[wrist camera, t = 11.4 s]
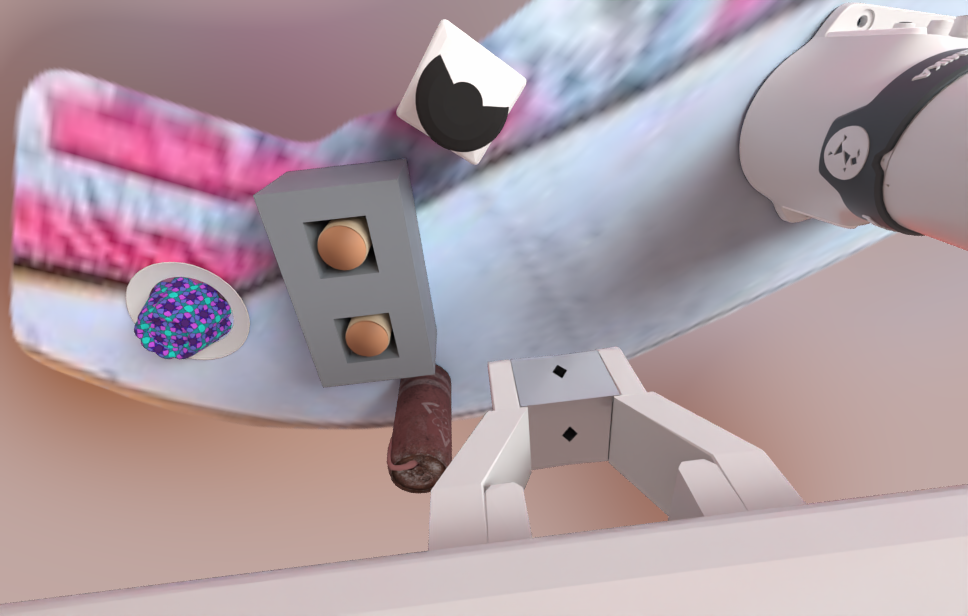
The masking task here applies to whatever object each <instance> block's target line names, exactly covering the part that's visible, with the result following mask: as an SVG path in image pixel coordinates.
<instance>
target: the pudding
mask: <svg viewBox="0 0 968 616" xmlns="http://www.w3.org/2000/svg"><path fill="white" fill-rule="evenodd" d="M171 277H178V278H174V279H173V280H172V282H171V283H167V282H161V283H159V282H160V281H162V280H164V279H167V278H171ZM184 277H189V278H193V279H197V280H200V281H202V282H205V283H206V284H204V283H200V284H195V283H194V282H193V281H191V280H190V279H189V278H184ZM157 283H159V284H157ZM156 284H157V285H156ZM207 284H208V285H207ZM155 285H156V286H155ZM209 285H210V286H209ZM154 286H155V288H154V289H153V291H152V293H151V294H150V292H151V290H152V288H153V287H154ZM211 286H212V287H213V288H215V289H216V290H217V291H219V292H220V293H221V294H222V295H223V296H224V298H225V299H226V300H227V301H228V303H229V305H230V306H231V308H230V306H229V305H228V303H227V302H226V301H224V300H222V299H220V298H219V297H218V294H217V291H216V290H215V289H213V288H212V287H211ZM149 294H150V296H149ZM126 305H127V309H128V312H129V314H130V316H131V318H132V320H133V322H134V323H135V328H134V332H135V334H136V336H137V337H138V338H139V339H141V344H142V346H143V347H144V348H145V349H147V350H148V351H151V352H155V353H156V354H157V355H158V356H160V357H162V358H165V359H172V358H177V359H186V358H191V359H199V360H210V359H217V358H222V357H225V356H227V355H230V354H232V353H233V352H235V351H237V350H238V349H239V348H240V347H241V346H242V345H243V343H244V342H245V340H246V339H247V336H248V333H249V328H250V321H249V314H248V311H247V308H246V306H245V304H244V302H243V301H242V299H241V297H240V296H239V295H238V294H237V292H236V291H235V290H234V289H233V288H232V287H231V286H230V285H229V284H228V283H227V282H225V281H224V280H222V279H221V278H220V277H218V276H217V275H215V274H213V273H211V272H209V271H208V270H205V269H203V268H200V267H197V266H194V265H190V264H186V263H178V262H162V263H157V264H153V265H150V266H148V267H145V268H143V269H142V270H140V271H139V272H138V273H136V274H135V276H134V277H133V278H132V279H131V280H130V283H129V285H128V287H127V291H126ZM231 309H232V312H233V317H234V323H233V327H232V330H231V326H232V323H231V322H230V320H229V319H228V317H229V316H230V314H231ZM230 330H231V331H230ZM229 331H230V333H229V334H228V335H227V336H226V337H225V338H224V339H222V340H220V341H218V342H216V341H217V340H219V338H220V337H222V336H223V335H225V334H227V333H228V332H229ZM214 342H215V343H214Z"/></svg>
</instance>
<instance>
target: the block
mask: <svg viewBox="0 0 968 616" xmlns="http://www.w3.org/2000/svg"><path fill="white" fill-rule="evenodd" d="M253 197H254V199H255V202H256V205H257V208H258V210H259V213H260V216H261V219H262V221H263V224H264V227H265V230H266V232H267V235H268V238H269V241H270V243H271V246H272V249H273V252H274V254H275V257H276V260H277V263H278V265H279V268H280V271H281V274H282V276H283V279H284V282H285V284H286V287H287V290H288V293H289V295H290V298H291V301H292V304H293V306H294V309H295V312H296V315H297V317H298V320H299V323H300V326H301V328H302V331H303V334H304V337H305V339H306V342H307V345H308V348H309V350H310V353H311V356H312V359H313V361H314V364H315V367H316V370H317V372H318V375H319V378H320V380H321V383H322V386H323V388H324V387H332V386H341V385H349V384H358V383H366V382H375V381H383V380H391V379H400V378H408V377H417V376H425V375H434V374H435V359H436V337H437V329H436V323H435V317H434V312H433V306H432V300H431V295H430V289H429V283H428V278H427V272H426V267H425V261H424V255H423V250H422V244H421V238H420V233H419V227H418V221H417V216H416V210H415V205H414V199H413V193H412V188H411V182H410V176H409V171H408V165H407V159H397V160H388V161H379V162H370V163H361V164H352V165H343V166H334V167H325V168H316V169H307V170H298V171H289V172H286V173H285V174H283V175H282V176H280V177H279V178H277V179H276V180H275V181H273V182H272V183H270V184H269V185H267V186H266V187H265V188H263V189H262V190H260V191H259V192H257V193H256V194H254V195H253ZM365 215H366V219H367V223H368V227H369V231H370V236H371V240H372V245H371V247H370V249H369V252H368V254H367V257H366V259H365V260H364V262H363V263H362V264H361V265H360V266H358V267H356V268H354V269H351V270H339V269H335V268H333V267H331V266H329V265H328V264H327V263H326V262H325V261H324V260H323V259H322V258H321V256H320V254H319V251H318V245H317V244H318V238H319V235H320V234H321V232H322V231H323V230H324V228H325V227H326V225H327V224H328V223H329V221H330V220H331V219H339V218H348V217H357V216H365ZM382 313H389V315H390V319H391V324H392V332H391V337H390V341H389V345H388V347H387V348H386V349H385V350H384V351H383V352H382V353H381V354H379V355H376V356H371V357H367V356H361V355H359V354H356V353H355V352H353V351H352V350H351V349H350V348H349V346H348V345H347V342H346V331H347V328H348V325H349V323H350V320H351V317H356V316H365V315H374V314H382Z"/></svg>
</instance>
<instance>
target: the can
mask: <svg viewBox="0 0 968 616" xmlns="http://www.w3.org/2000/svg"><path fill="white" fill-rule="evenodd" d="M451 436H452V434H451V379H450V377H449V375H448V373H447V372H446V371H445V370H444V369H443V368H441V367H440V366H438V365H436V364H435V374H434V375H425V376H417V377H408V378H401V381H400V387H399V394H398V401H397V407H396V414H395V421H394V427H393V434H392V437H391V440H390V443H389V447H388V453H387V464H388V470H389V474H390V476H391V480H392V481H393V483H394V484H395V485H396V486H397V487H399V488H400V489H402V490H404V491H407V492H411V493H427V492H431V490H432V488H433V487H434V485H435V484H436V482H437V481H438V480H439V478H440V477H441V475H442V474H443V473H444V471H445V470H446V468H447V467H448V466H449V464H450V463H451V461H452V448H451V447H452V440H451V438H452V437H451Z"/></svg>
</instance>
